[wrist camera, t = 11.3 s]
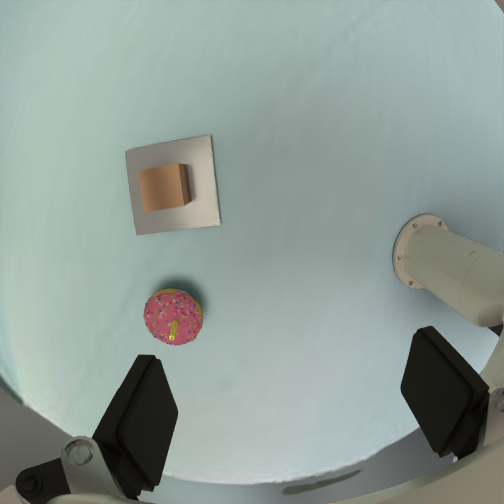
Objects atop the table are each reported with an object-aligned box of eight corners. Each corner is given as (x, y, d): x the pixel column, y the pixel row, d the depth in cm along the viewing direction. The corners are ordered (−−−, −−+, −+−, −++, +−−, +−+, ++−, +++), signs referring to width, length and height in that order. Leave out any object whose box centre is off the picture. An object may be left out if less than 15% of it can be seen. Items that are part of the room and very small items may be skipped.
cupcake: (180, 266, 40) (157, 303, 28) (218, 308, 42) (211, 355, 30) (142, 299, 41) (113, 340, 30) (179, 336, 43) (162, 385, 32)
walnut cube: (186, 164, 35) (178, 163, 30) (191, 201, 36) (184, 205, 31) (151, 170, 35) (138, 171, 30) (156, 207, 36) (144, 212, 31)
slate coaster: (211, 136, 35) (210, 135, 34) (220, 223, 38) (220, 225, 37) (128, 151, 35) (125, 151, 34) (139, 233, 38) (136, 235, 37)
